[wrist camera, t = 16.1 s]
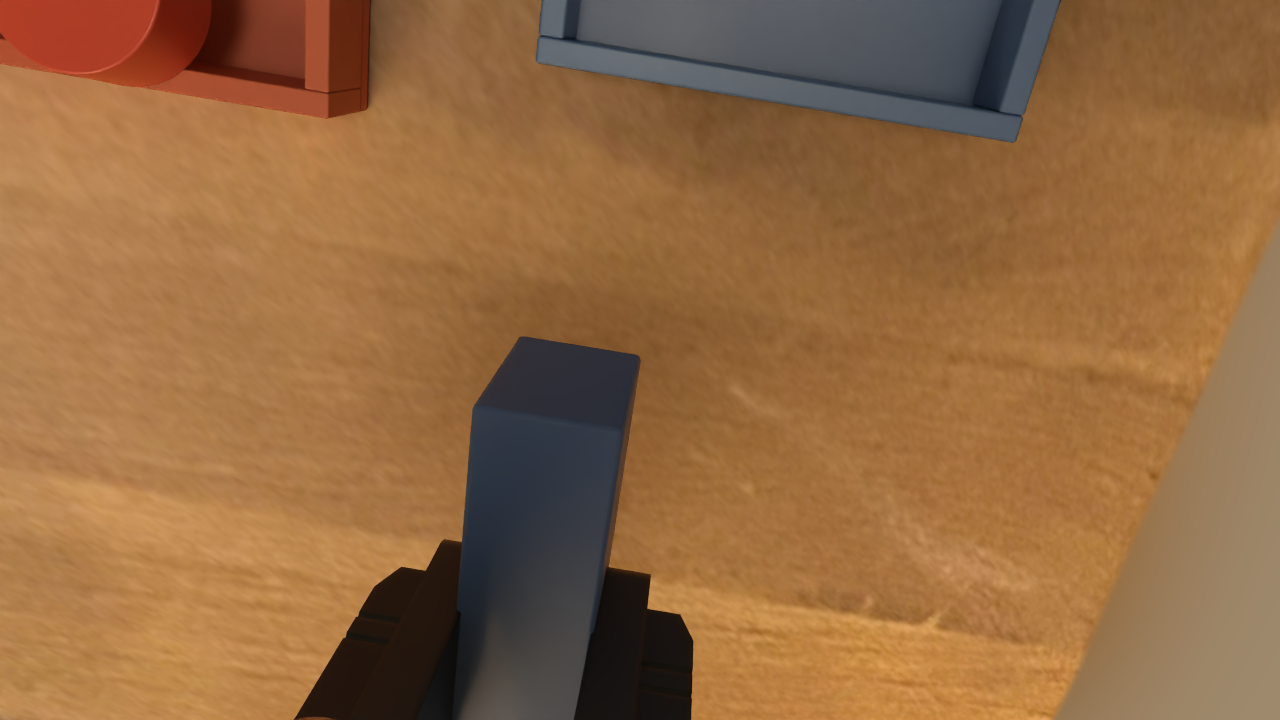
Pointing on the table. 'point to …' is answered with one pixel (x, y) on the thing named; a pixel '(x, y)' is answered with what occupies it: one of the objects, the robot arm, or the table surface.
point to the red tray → (273, 56)
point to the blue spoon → (539, 526)
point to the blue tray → (821, 53)
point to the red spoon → (108, 36)
